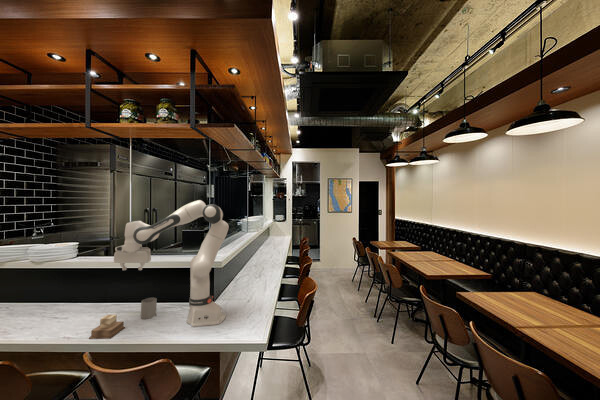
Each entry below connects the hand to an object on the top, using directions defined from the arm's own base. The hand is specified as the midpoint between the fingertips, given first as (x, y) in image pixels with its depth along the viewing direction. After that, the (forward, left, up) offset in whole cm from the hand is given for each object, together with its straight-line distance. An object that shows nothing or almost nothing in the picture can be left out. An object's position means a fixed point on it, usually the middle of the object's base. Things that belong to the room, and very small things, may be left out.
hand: (132, 270), depth 147 cm
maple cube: (+4, +13, -27) cm, 30 cm away
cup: (-6, -8, -31) cm, 33 cm away
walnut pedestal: (+4, +13, -31) cm, 34 cm away
